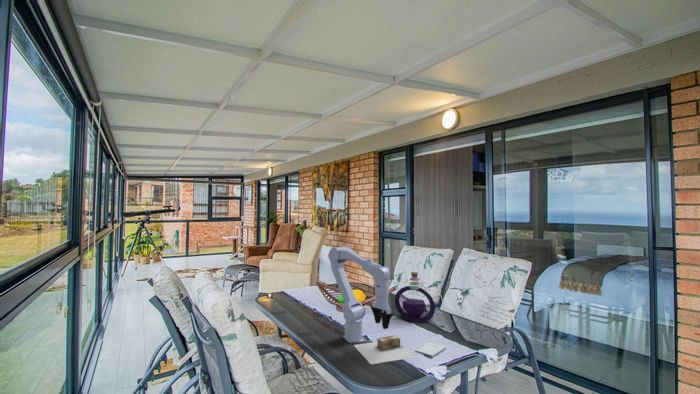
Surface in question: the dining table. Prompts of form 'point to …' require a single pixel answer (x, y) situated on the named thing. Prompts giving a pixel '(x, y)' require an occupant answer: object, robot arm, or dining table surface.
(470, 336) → the dining table surface
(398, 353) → the mat
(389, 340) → the cardboard box
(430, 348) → the external hard drive
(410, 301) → the decorative bottle
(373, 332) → the dining table surface
